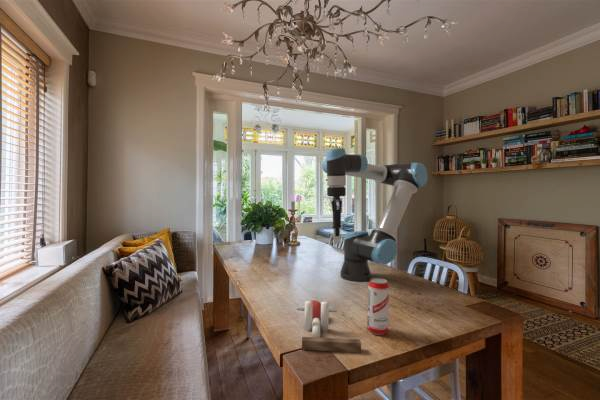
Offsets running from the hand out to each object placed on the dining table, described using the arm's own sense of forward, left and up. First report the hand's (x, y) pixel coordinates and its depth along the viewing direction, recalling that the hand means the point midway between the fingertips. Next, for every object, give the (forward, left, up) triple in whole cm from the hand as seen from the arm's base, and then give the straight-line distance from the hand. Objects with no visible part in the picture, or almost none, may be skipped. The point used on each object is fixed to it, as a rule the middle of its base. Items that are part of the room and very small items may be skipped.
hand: (337, 243), depth 117 cm
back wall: (+4, +41, -22) cm, 46 cm away
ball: (+9, +23, -19) cm, 31 cm away
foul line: (+8, +16, -22) cm, 28 cm away
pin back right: (+6, +30, -22) cm, 38 cm away
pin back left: (+11, +30, -22) cm, 39 cm away
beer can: (-11, +30, -22) cm, 38 cm away
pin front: (+8, +27, -21) cm, 35 cm away
